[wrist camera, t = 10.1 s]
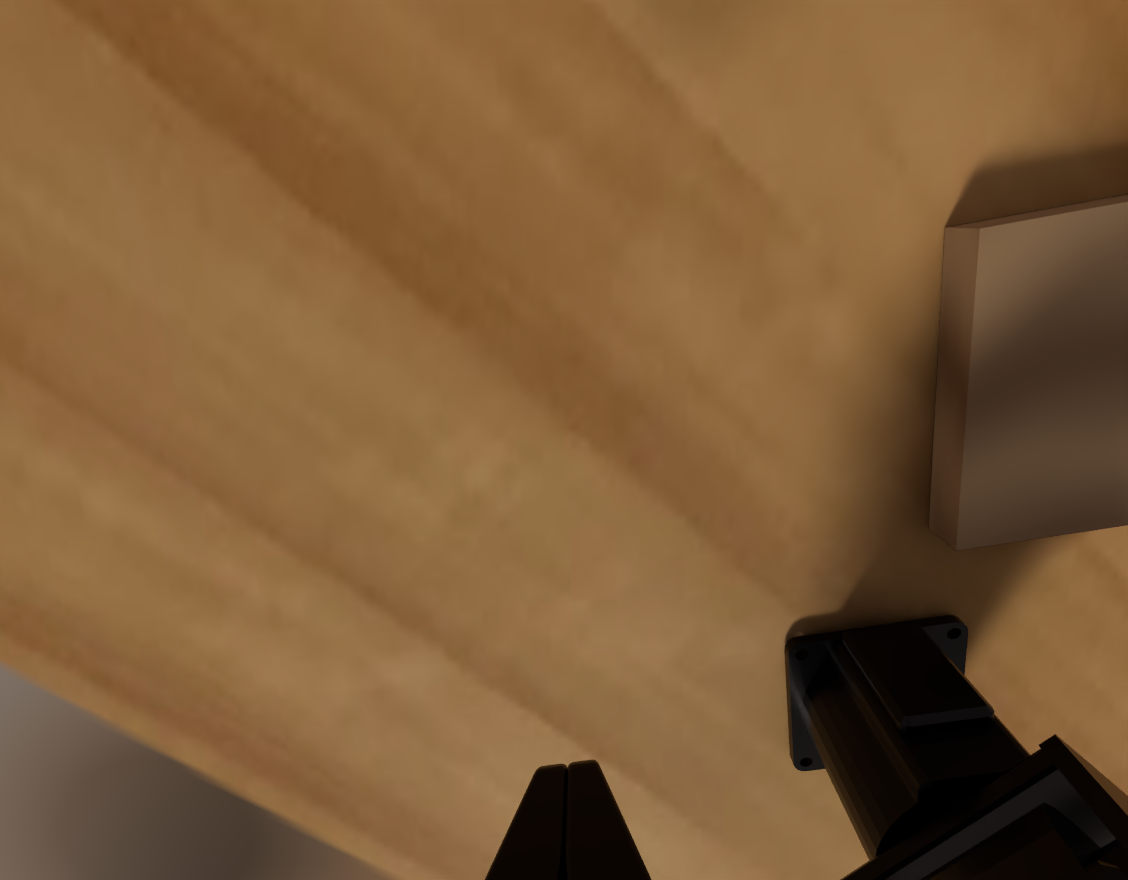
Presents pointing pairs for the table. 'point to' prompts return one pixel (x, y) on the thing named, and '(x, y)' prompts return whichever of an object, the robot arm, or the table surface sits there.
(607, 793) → the robot arm
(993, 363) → the board
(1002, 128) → the table surface
